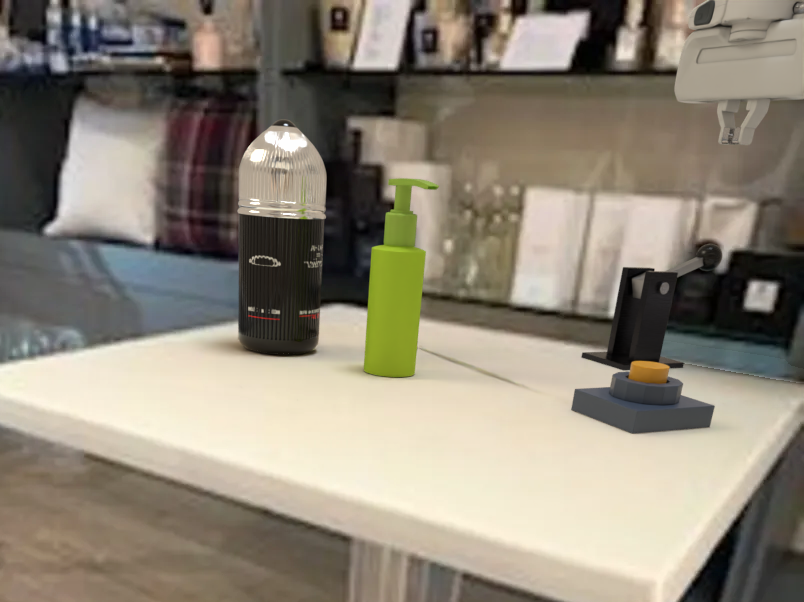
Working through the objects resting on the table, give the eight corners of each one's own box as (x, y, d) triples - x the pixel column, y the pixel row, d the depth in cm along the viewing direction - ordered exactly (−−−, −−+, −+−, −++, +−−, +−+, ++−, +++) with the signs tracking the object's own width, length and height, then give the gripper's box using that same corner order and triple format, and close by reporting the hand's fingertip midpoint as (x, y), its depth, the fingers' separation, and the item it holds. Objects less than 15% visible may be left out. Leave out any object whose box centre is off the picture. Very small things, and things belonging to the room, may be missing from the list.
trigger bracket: (638, 359, 118) (657, 266, 113) (682, 372, 112) (704, 274, 106) (580, 361, 114) (597, 265, 108) (622, 374, 107) (642, 273, 102)
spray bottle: (331, 347, 111) (343, 125, 100) (301, 360, 102) (310, 118, 92) (257, 338, 114) (261, 120, 103) (222, 349, 105) (221, 113, 94)
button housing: (645, 405, 93) (653, 367, 91) (709, 427, 86) (719, 387, 84) (570, 410, 89) (577, 370, 87) (632, 434, 81) (641, 391, 80)
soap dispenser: (399, 381, 96) (416, 179, 87) (353, 369, 100) (364, 175, 91) (432, 375, 100) (451, 181, 91) (385, 364, 104) (400, 177, 95)
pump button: (647, 377, 88) (651, 360, 87) (673, 386, 85) (677, 367, 84) (620, 379, 86) (623, 361, 85) (646, 387, 83) (649, 369, 83)
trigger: (708, 264, 113) (708, 238, 111) (728, 267, 111) (728, 241, 109) (630, 299, 110) (628, 274, 108) (648, 303, 107) (646, 277, 106)
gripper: (866, 0, 92) (826, 147, 98) (717, 20, 108) (690, 145, 114) (826, -9, 89) (788, 143, 95) (679, 13, 106) (654, 142, 112)
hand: (734, 144), depth 105 cm, fingers closed
